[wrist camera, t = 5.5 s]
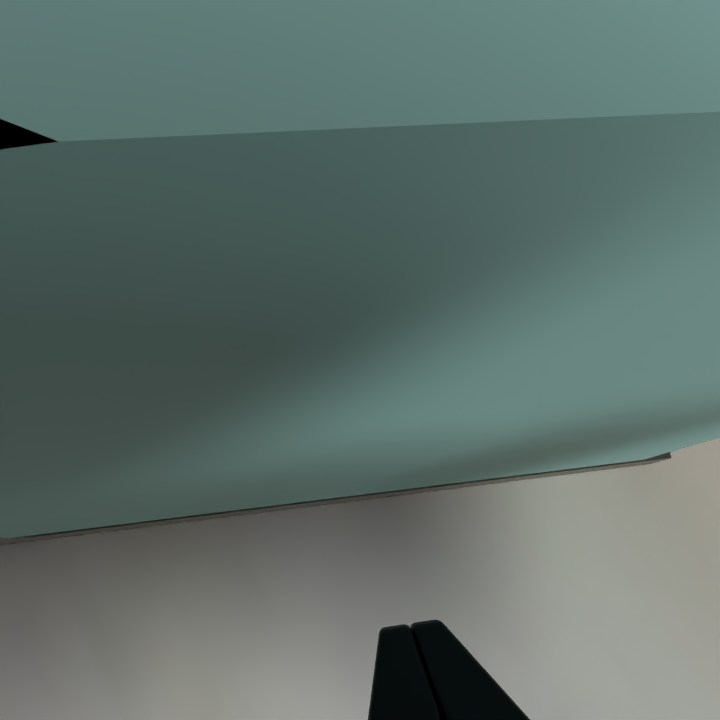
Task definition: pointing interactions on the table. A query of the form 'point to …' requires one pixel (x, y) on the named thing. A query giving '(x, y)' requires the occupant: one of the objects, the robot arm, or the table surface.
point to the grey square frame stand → (328, 501)
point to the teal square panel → (348, 247)
